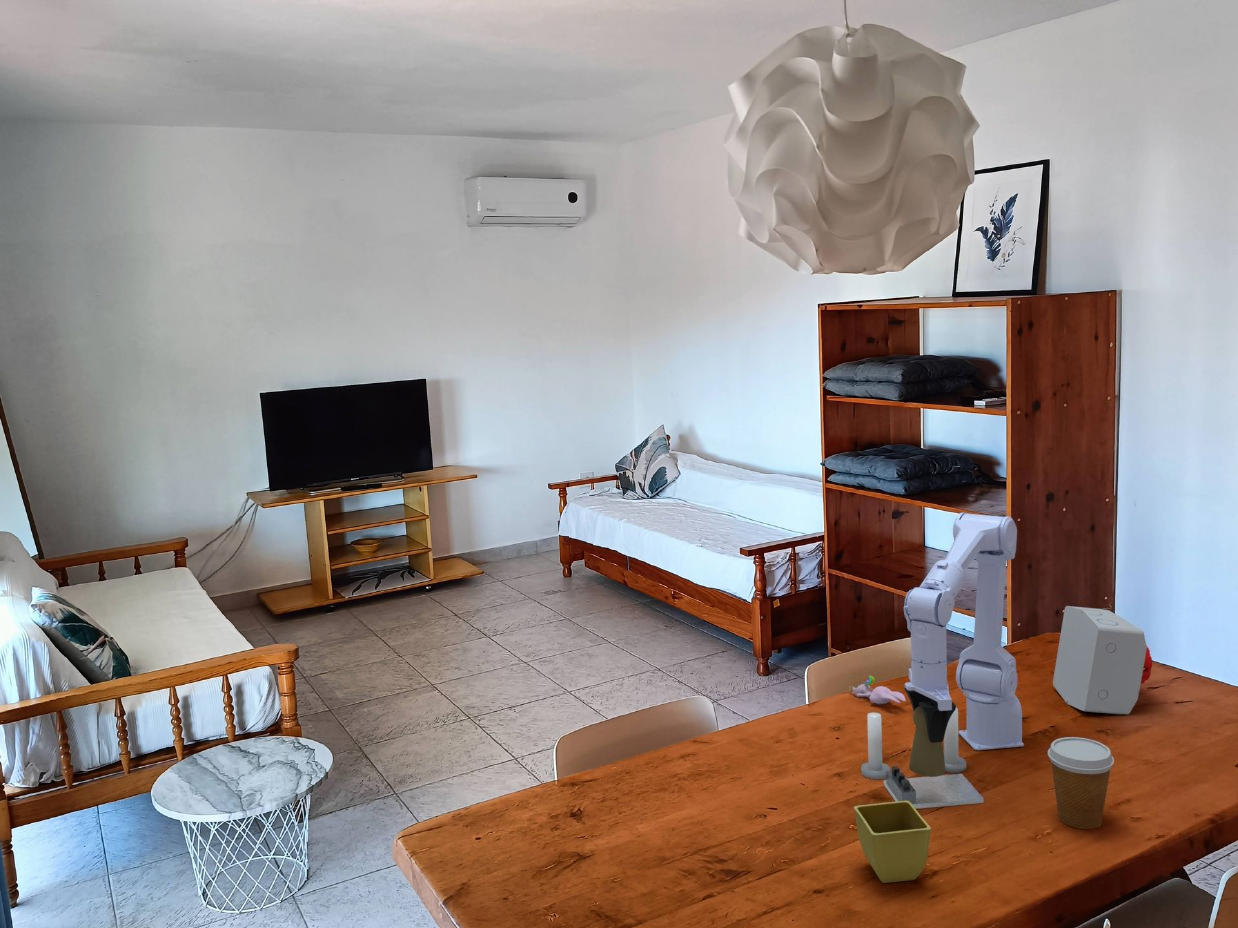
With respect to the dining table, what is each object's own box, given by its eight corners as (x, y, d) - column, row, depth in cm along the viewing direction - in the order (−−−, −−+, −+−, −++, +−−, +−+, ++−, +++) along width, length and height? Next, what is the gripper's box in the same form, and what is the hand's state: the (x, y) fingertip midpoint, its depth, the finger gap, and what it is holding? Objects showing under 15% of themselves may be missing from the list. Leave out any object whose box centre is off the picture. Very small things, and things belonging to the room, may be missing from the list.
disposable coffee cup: (1086, 841, 149) (1087, 767, 148) (1034, 814, 158) (1034, 745, 156) (1126, 823, 154) (1127, 751, 152) (1073, 798, 162) (1074, 730, 160)
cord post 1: (884, 765, 178) (883, 708, 176) (893, 778, 173) (892, 719, 171) (857, 767, 178) (856, 710, 176) (866, 780, 173) (864, 721, 171)
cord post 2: (959, 759, 178) (959, 702, 177) (970, 771, 174) (970, 713, 172) (932, 761, 178) (932, 704, 177) (943, 773, 173) (942, 715, 172)
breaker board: (961, 777, 171) (961, 756, 171) (983, 802, 163) (983, 780, 162) (883, 784, 171) (883, 763, 170) (901, 809, 162) (901, 787, 161)
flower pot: (854, 859, 148) (852, 804, 147) (909, 853, 149) (908, 798, 148) (874, 892, 140) (872, 834, 138) (933, 886, 140) (932, 828, 139)
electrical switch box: (1157, 724, 193) (1175, 627, 190) (1083, 717, 193) (1099, 620, 190) (1121, 696, 207) (1136, 605, 204) (1051, 689, 207) (1066, 599, 204)
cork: (941, 760, 170) (943, 700, 168) (949, 777, 164) (951, 716, 162) (905, 759, 170) (907, 700, 168) (912, 776, 164) (914, 715, 162)
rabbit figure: (844, 701, 211) (892, 713, 198) (840, 674, 211) (888, 684, 198) (866, 695, 214) (915, 706, 200) (862, 668, 214) (911, 677, 200)
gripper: (891, 645, 171) (892, 718, 173) (921, 675, 157) (922, 754, 159) (930, 642, 171) (931, 715, 173) (964, 671, 157) (964, 751, 159)
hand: (929, 734), depth 166 cm, fingers closed on cork, 5 cm apart
